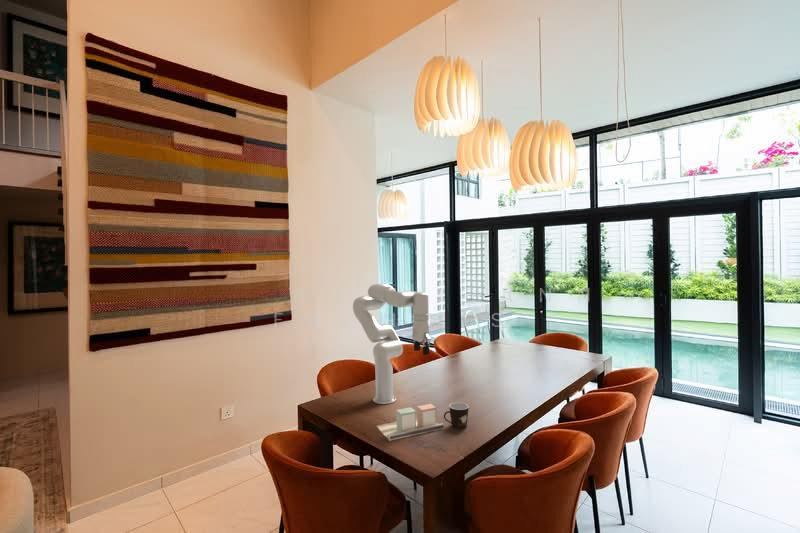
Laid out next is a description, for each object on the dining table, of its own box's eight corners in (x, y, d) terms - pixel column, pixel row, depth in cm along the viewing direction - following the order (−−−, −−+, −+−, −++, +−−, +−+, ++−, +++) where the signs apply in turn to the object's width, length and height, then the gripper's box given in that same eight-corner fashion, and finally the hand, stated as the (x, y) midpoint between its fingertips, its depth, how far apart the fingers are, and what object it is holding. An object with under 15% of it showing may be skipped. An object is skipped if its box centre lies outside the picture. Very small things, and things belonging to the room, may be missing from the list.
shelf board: (376, 428, 170) (376, 421, 170) (427, 417, 180) (427, 411, 180) (389, 443, 155) (389, 435, 155) (444, 431, 166) (444, 424, 166)
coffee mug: (466, 424, 173) (466, 402, 173) (471, 432, 164) (470, 409, 164) (441, 424, 172) (441, 403, 172) (444, 433, 164) (444, 410, 164)
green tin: (401, 435, 160) (400, 413, 160) (396, 430, 165) (396, 409, 165) (416, 431, 163) (415, 411, 163) (411, 427, 168) (410, 407, 168)
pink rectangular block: (422, 430, 164) (422, 410, 164) (417, 426, 169) (416, 406, 169) (436, 427, 167) (436, 407, 167) (431, 423, 172) (430, 403, 172)
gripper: (406, 316, 191) (407, 349, 191) (422, 320, 175) (422, 357, 175) (419, 315, 194) (420, 348, 194) (436, 319, 178) (436, 355, 178)
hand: (421, 352), depth 185 cm, fingers open, 9 cm apart
